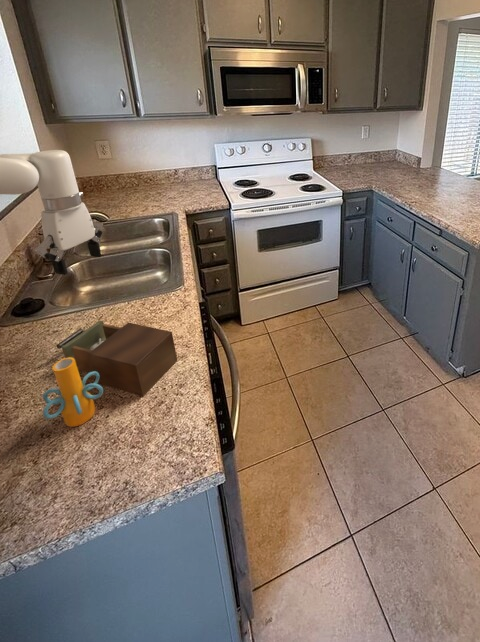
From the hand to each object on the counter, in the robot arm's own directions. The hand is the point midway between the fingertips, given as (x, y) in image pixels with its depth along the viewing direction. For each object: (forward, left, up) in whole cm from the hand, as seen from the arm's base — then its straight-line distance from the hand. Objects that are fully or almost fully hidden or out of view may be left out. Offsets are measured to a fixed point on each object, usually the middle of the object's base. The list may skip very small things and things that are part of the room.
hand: (79, 264), depth 92 cm
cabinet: (+15, -3, -28) cm, 32 cm away
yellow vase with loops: (+12, -18, -28) cm, 36 cm away
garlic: (+3, -3, -26) cm, 27 cm away
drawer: (+2, -3, -27) cm, 28 cm away
